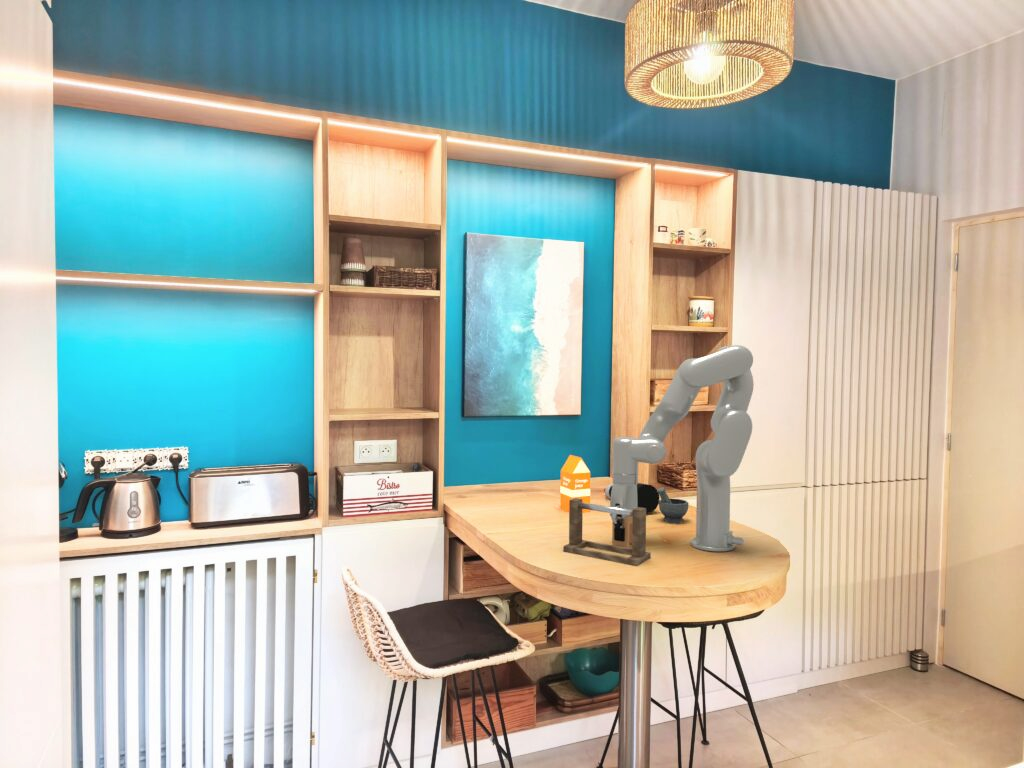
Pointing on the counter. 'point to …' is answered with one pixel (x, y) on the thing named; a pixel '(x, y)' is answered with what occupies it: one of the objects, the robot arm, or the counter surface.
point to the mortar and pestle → (672, 507)
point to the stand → (577, 544)
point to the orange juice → (574, 482)
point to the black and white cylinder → (642, 496)
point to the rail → (605, 509)
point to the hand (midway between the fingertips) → (624, 537)
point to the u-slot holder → (628, 533)
